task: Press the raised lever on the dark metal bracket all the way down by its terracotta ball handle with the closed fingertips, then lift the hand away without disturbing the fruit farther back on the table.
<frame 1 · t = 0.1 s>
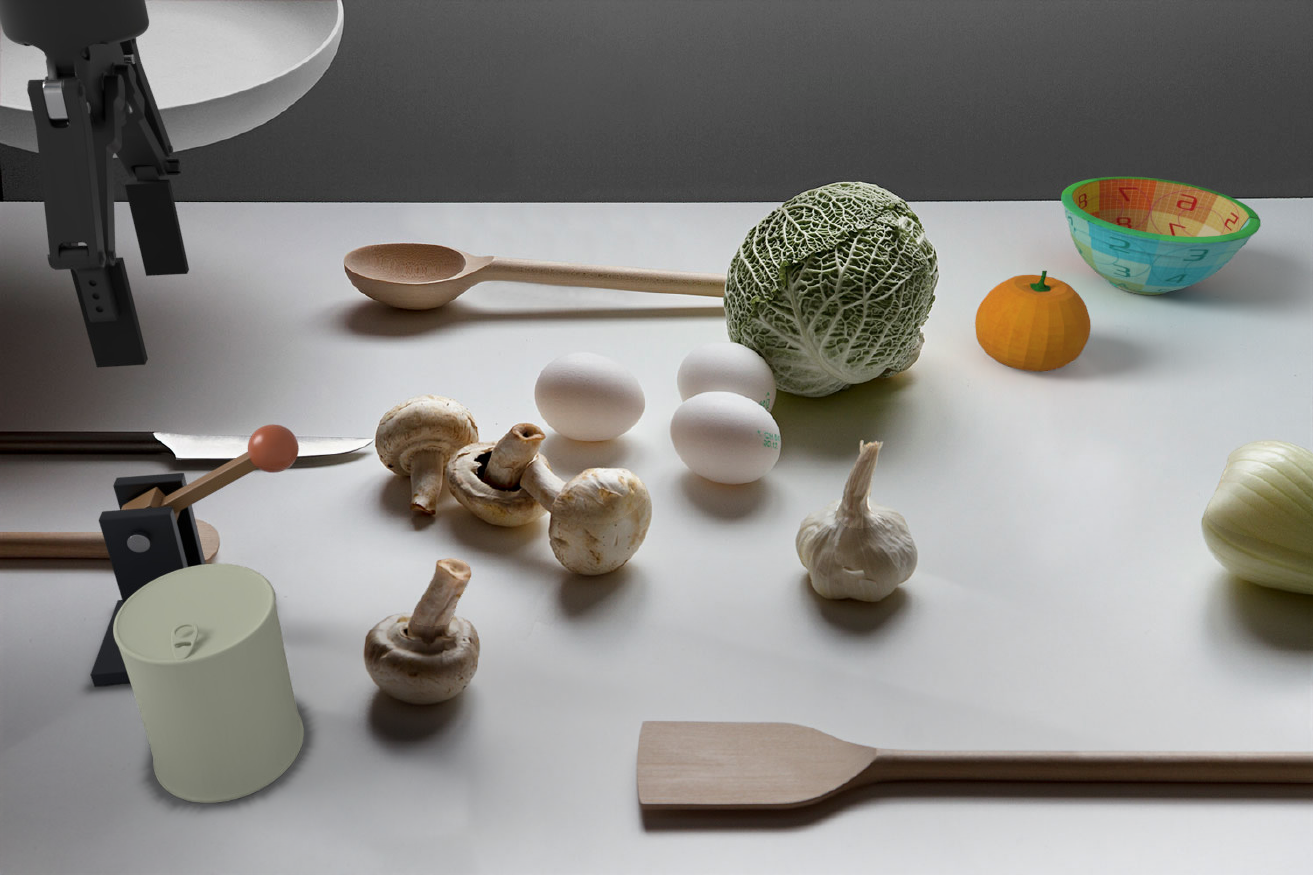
hand: (147, 315, 73), 24 cm above the table, tool pointing down, fingers open, 13 cm apart
bowl: (1138, 284, 140), on the table
fruit: (1024, 358, 122), on the table
bracket: (181, 641, 82), on the table
lever: (211, 482, 75), point 13 cm above the table, hinge at 28.0°
can: (231, 749, 73), on the table
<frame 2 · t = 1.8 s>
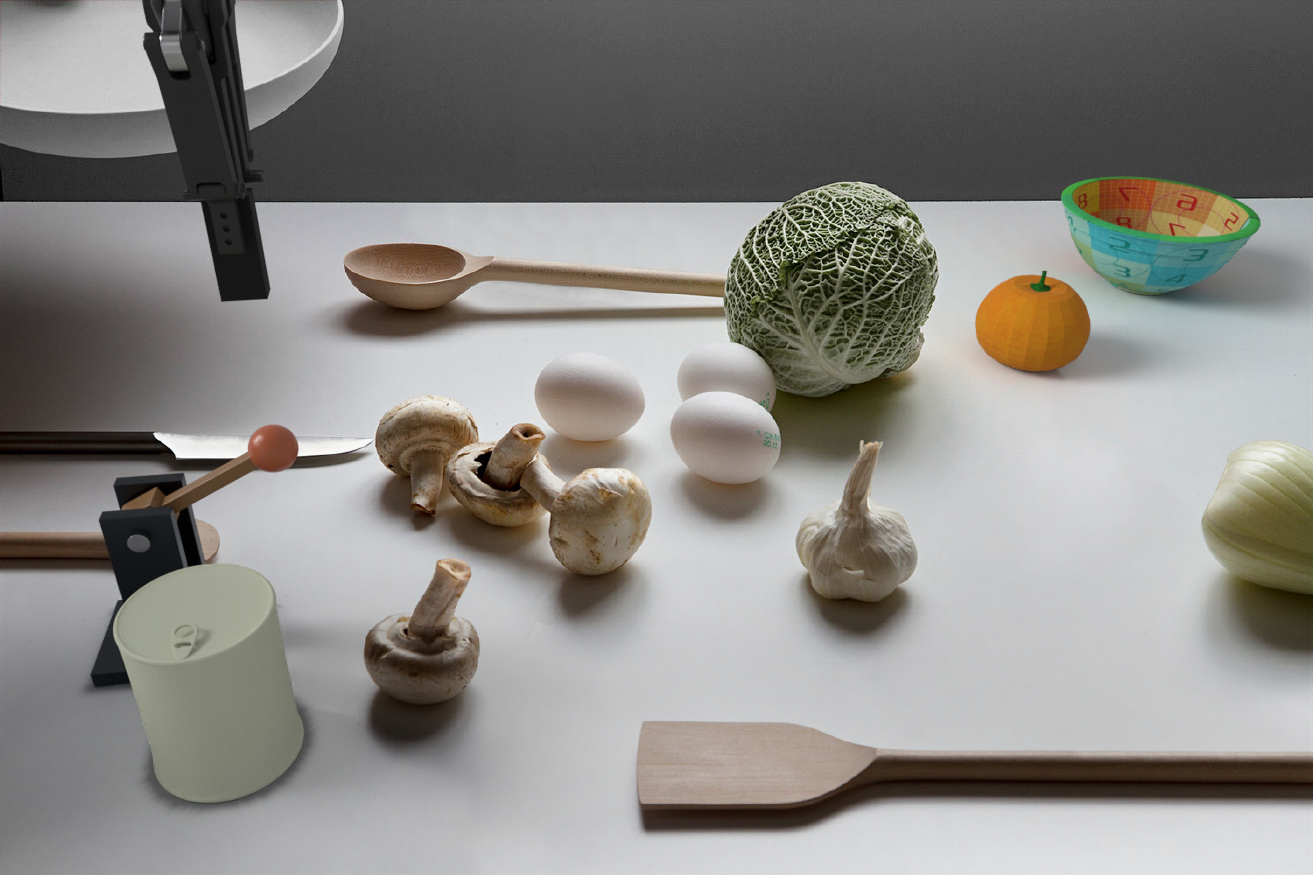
hand: (246, 295, 69), 27 cm above the table, tool pointing down, fingers closed
nothing on the table moved.
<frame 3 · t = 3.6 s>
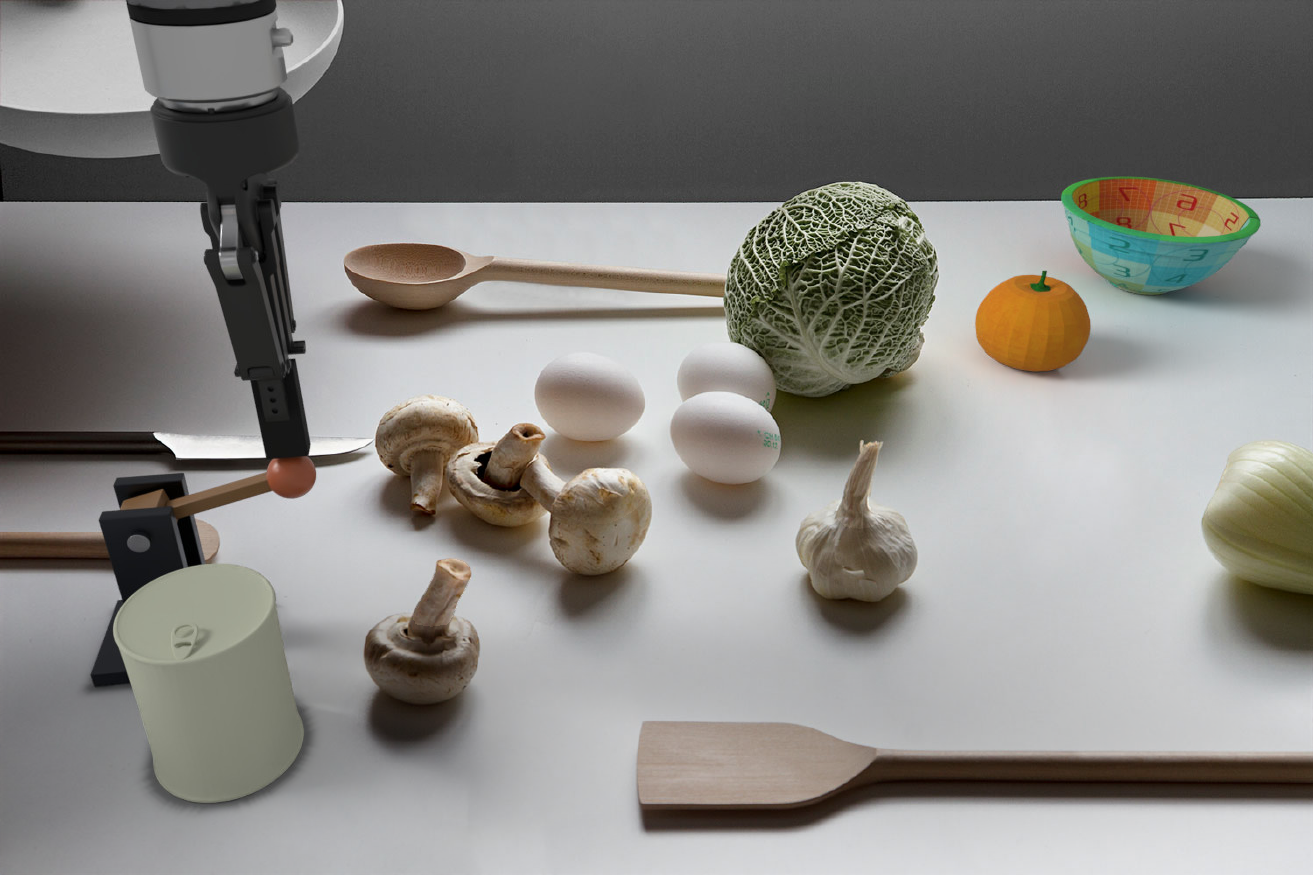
hand: (288, 451, 75), 15 cm above the table, tool pointing down, fingers closed
lever: (221, 495, 76), point 12 cm above the table, hinge at 14.6°, touching gripper
everything else where it was.
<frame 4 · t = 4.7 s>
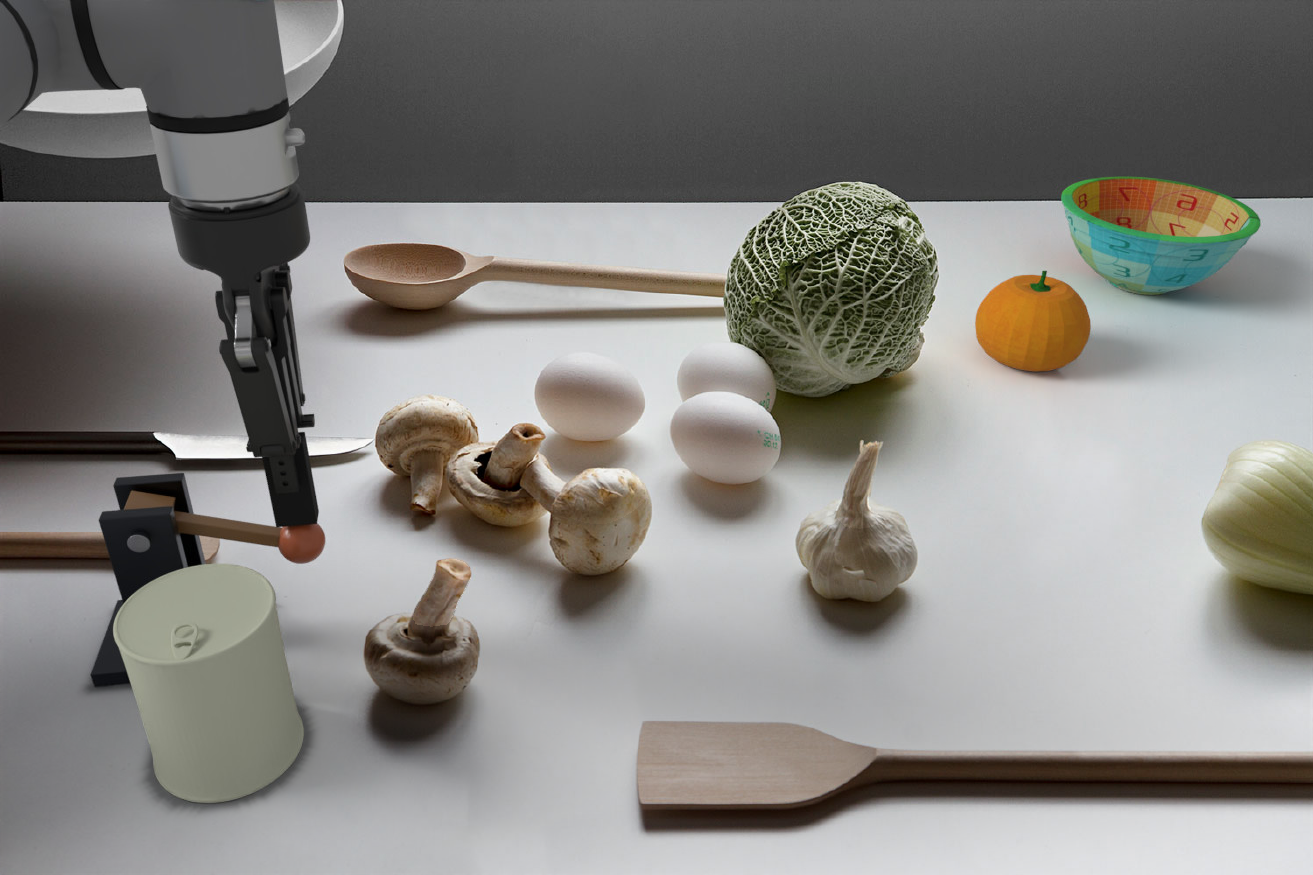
hand: (297, 519, 78), 10 cm above the table, tool pointing down, fingers closed
lever: (227, 529, 78), point 9 cm above the table, hinge at -17.3°, touching gripper
everything else where it was.
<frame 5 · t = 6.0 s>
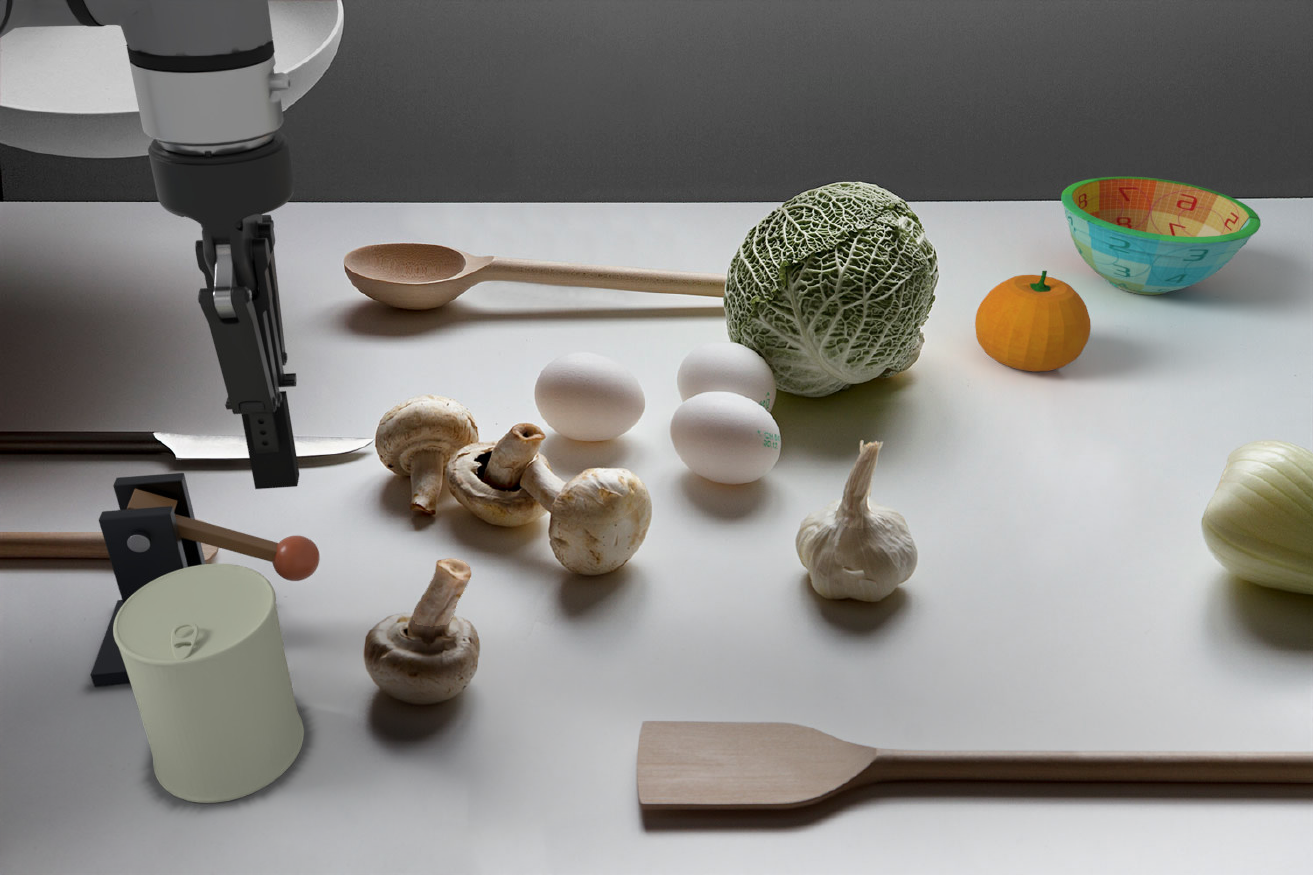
hand: (277, 481, 76), 13 cm above the table, tool pointing down, fingers closed
lever: (225, 538, 78), point 9 cm above the table, hinge at -26.3°
everything else where it was.
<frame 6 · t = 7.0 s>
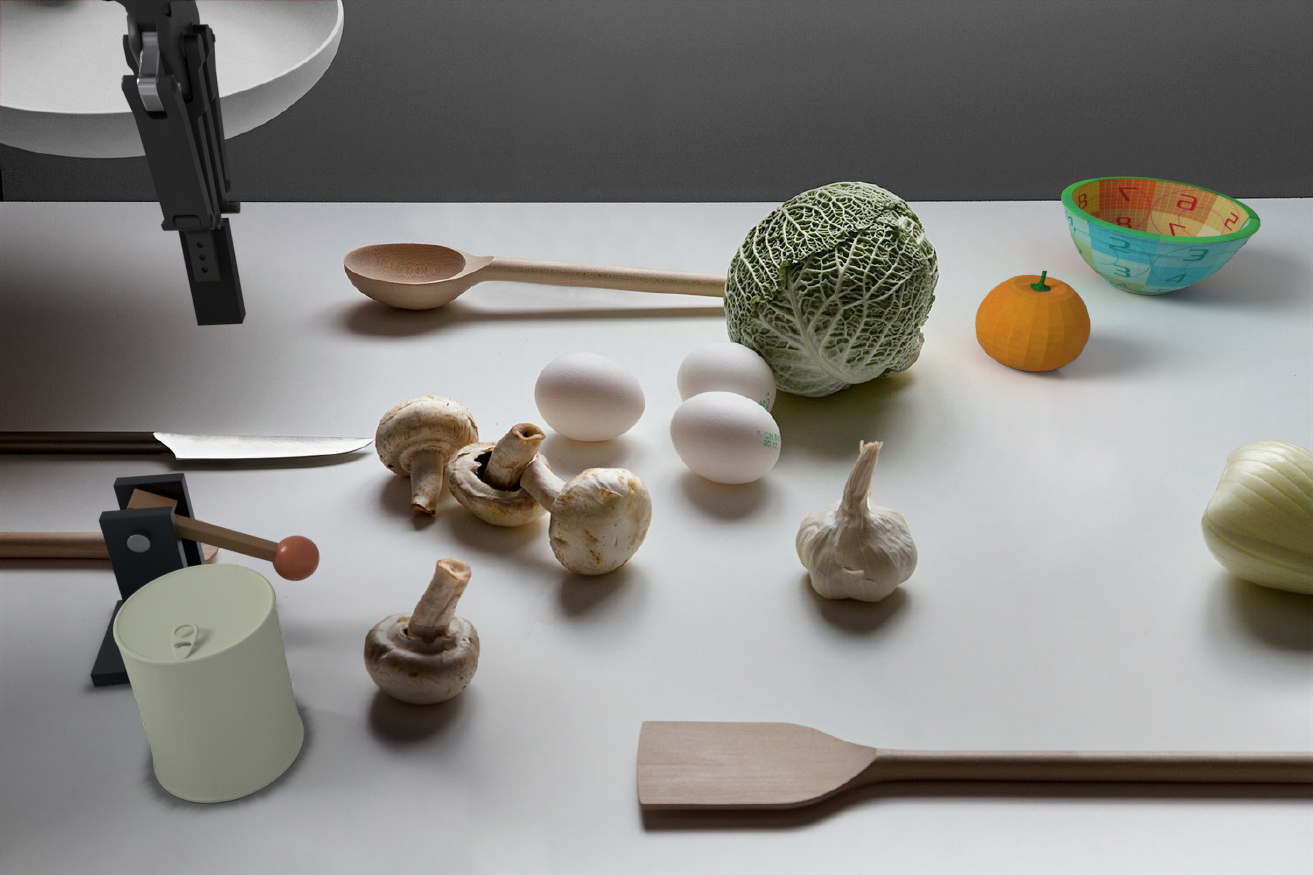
hand: (222, 319, 72), 24 cm above the table, tool pointing down, fingers closed
nothing on the table moved.
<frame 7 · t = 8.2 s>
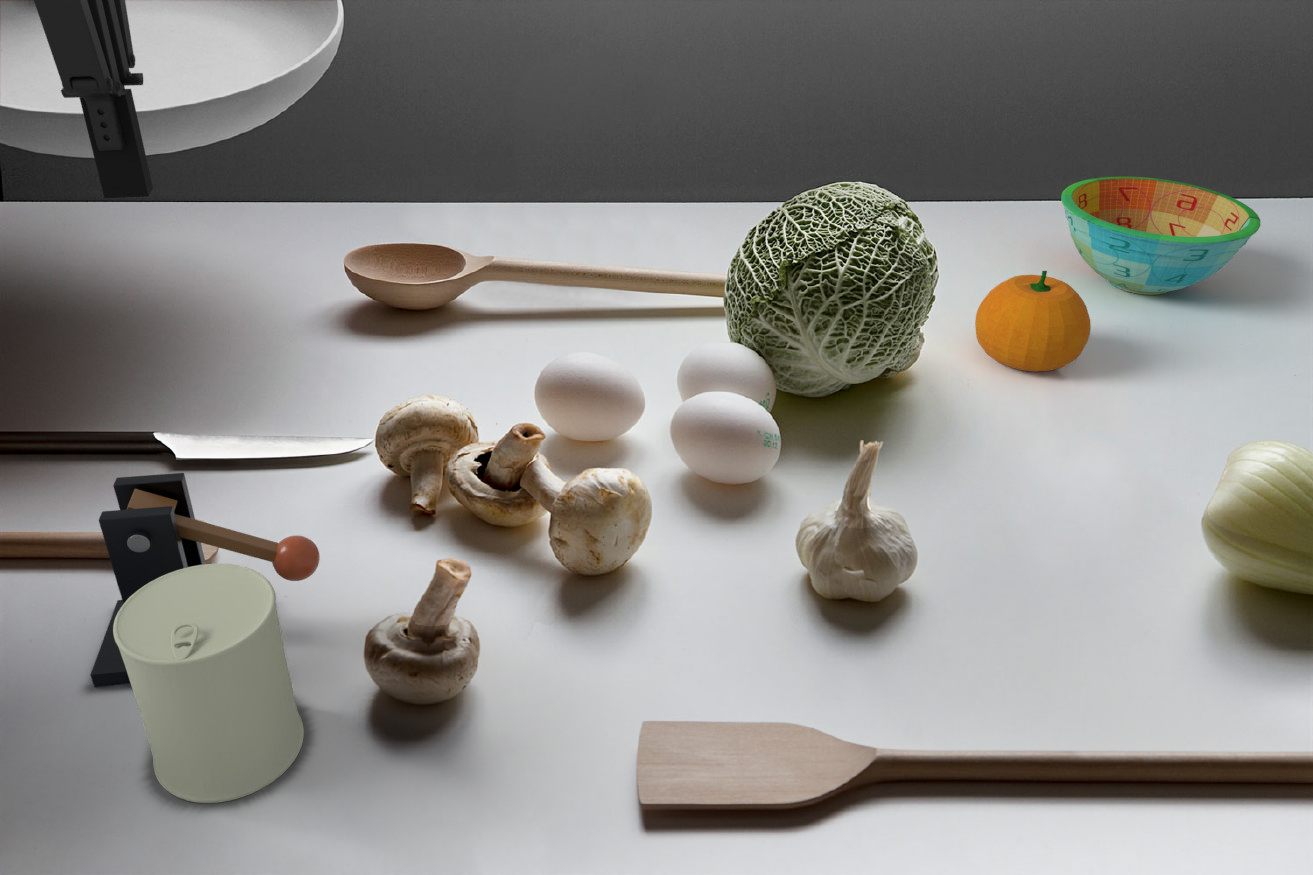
hand: (128, 193, 74), 30 cm above the table, tool pointing down, fingers closed
nothing on the table moved.
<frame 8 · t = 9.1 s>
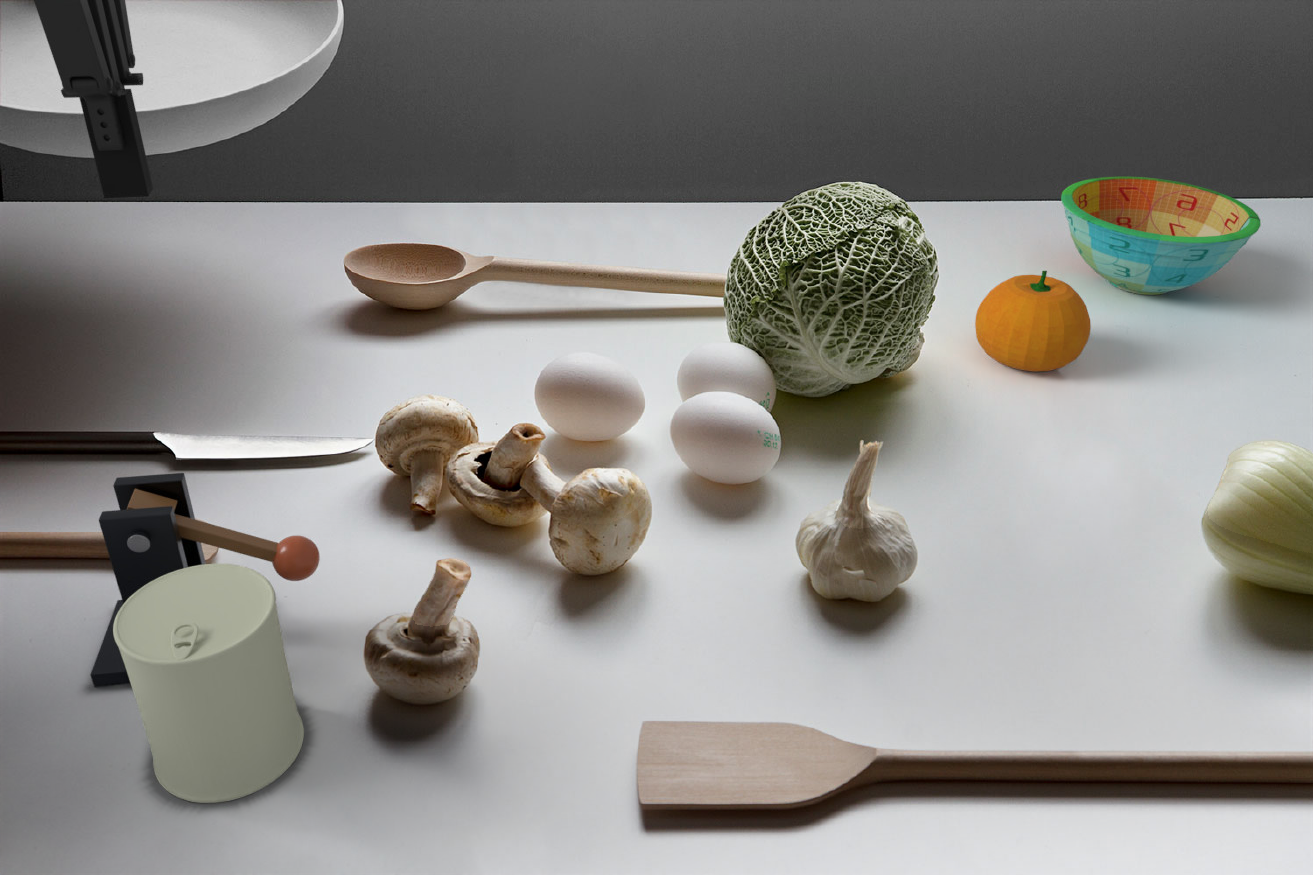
hand: (128, 193, 74), 30 cm above the table, tool pointing down, fingers closed
nothing on the table moved.
at the end: lever at -26° (first picture: +28°); fruit moved 0.2 cm from its start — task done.
